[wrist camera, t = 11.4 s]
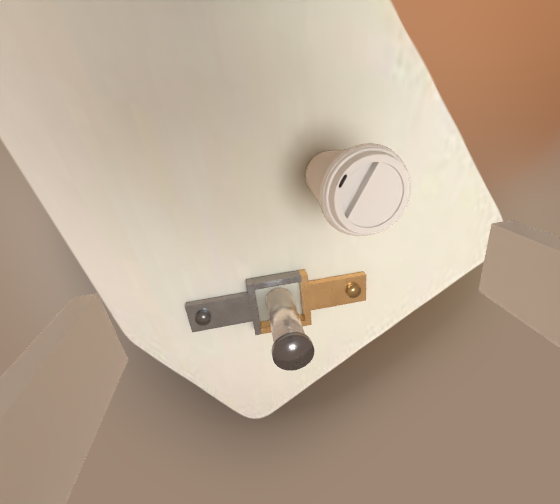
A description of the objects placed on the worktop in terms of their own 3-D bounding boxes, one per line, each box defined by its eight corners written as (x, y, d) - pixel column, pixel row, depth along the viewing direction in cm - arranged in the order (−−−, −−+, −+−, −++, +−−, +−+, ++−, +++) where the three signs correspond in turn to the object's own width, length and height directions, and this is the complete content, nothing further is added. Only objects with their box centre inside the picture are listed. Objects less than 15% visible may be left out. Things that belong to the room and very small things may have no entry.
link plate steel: (182, 290, 46) (180, 296, 44) (298, 270, 48) (301, 275, 46) (196, 338, 50) (194, 346, 48) (303, 318, 52) (305, 325, 50)
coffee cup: (332, 123, 40) (386, 120, 26) (371, 175, 43) (435, 197, 30) (281, 172, 41) (305, 194, 28) (322, 219, 45) (362, 259, 31)
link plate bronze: (252, 278, 47) (253, 284, 45) (363, 259, 49) (368, 264, 47) (260, 326, 51) (261, 334, 49) (362, 307, 53) (367, 313, 51)
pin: (260, 288, 48) (270, 341, 36) (293, 282, 48) (312, 333, 37) (265, 315, 50) (275, 373, 38) (296, 309, 51) (315, 365, 39)
